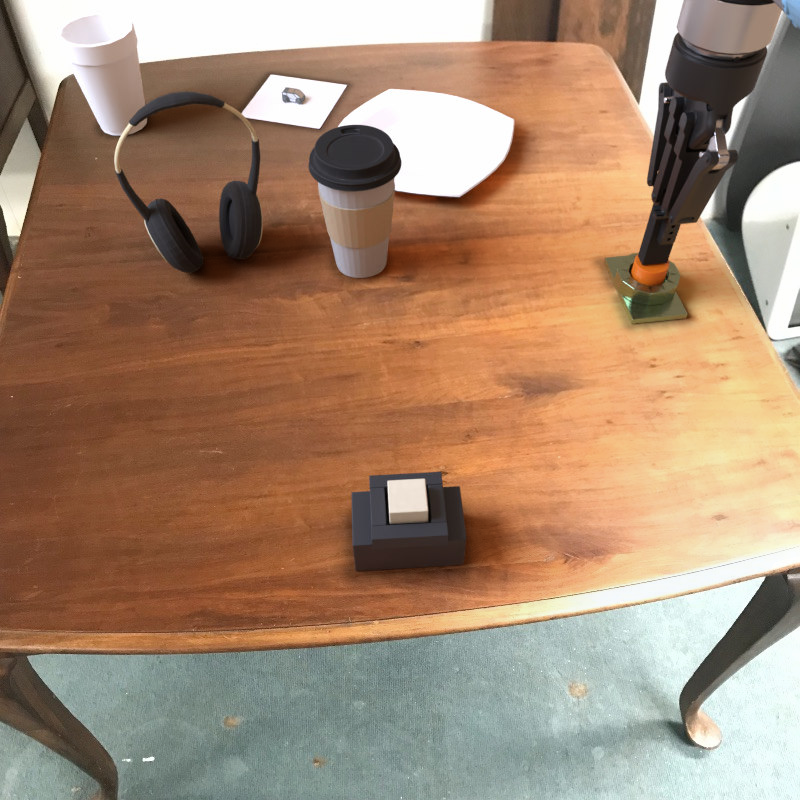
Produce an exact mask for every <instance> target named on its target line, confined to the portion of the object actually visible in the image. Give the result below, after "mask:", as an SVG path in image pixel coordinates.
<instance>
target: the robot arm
mask: <svg viewBox="0 0 800 800" xmlns="http://www.w3.org/2000/svg"><path fill="white" fill-rule="evenodd" d="M782 13H784V14H785V16H786V17H787V19H788V20H789V22H790V23H791V24H792V25H793V27H794V28H796V29H798V30H800V0H683V1H682V5H681V9H680V12H679V16H678V20H677V24H676V29H677V33H675V35H674V37H673V41H672V44H671V47H670V51H669V55H668V59H667V63H666V66H665V70H664V77H665V80H666V81H665V82H660V84H659V85H658V99H657V101H658V102H657V103H658V107H657V114H656V120H655V128H654V132H653V140H652V146H651V150H650V151H651V152H650V156H649V157H650V158H649V164H648V170H647V177H646V185H647V186H648V187H652V191H651V194H650V195H651V196H650V197H651V202H652V205H651V209H650V212H649V213H650V214H649V217H648V220H647V222H646V223H647V224H646V227H645V230H644V234H643V237H642V240H641V244H640V247H639V249H638V250H639V251H638V253H639V254H638V257H639V259H640V261H641V264H642V265H649V264H660V263H667V262H668V260H669V259H670V256H671V253H672V249H673V246H674V243H675V242H676V240H677V237H678V233H679V231H680V228H681V225H685V224H686V225H687V224H695V223H697V222H698V221H699V219H700V217H701V215H702V214H703V213H704V211H705V209H706V207H707V205H708V203H709V201H710V200H711V198H712V196H713V195H714V193H715V191H716V189H717V188H718V186H719V185H720V182H721V181H722V179H723V177H724V175H725V174H726V172H727V171H728V170H730V168H732V167H733V166H734V165H735V164H736V163H738V159H739V153H738V151H737V149H735V148H734V149H728V144H727V138H726V135H727V134H728V132H730V129H731V126H732V118H733V113H734V108H735V106H736V105H737V104H738V103H740V102H741V101H742V100H744V99H745V98H747V97H748V96H750V95H751V93H752V92H753V91H754V90H755V88H756V85H757V83H758V80H759V77H760V75H761V71H762V69H763V66H764V63H765V61H766V58H767V56H768V48H767V47H768V46H769V45H770V44H771V43H772V40H773V37H774V35H775V32H776V28H777V26H778V23H779V20H780V17H781V15H782Z"/></svg>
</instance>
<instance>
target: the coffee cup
mask: <svg viewBox="0 0 800 800" xmlns="http://www.w3.org/2000/svg"><path fill="white" fill-rule="evenodd" d="M401 165H402V161H401V157H400V152H399V150H398V148H397V147H396V145H395V144H394V143H393V141H392V139H391V138H390V136H389V135H388V134H386V133H385V132H384V131H382V130H380V129H378V128H375V127H371V126H367V125H345V126H340V127H338V126H337V127H334V128H331V129H329V130H327V131H326V132H324V133H322V134H321V135H320V136H319V137H318V138H317V139H316V141H315V144H314V147H313V148H312V149H311V151H310V153H309V158H308V171H309V174H310V175H311V177H312V178H313V179H314V180H315V181H317V184H318V185H317V191H318V196H319V201H320V204H321V209H322V213H323V218H324V222H325V227H326V231H327V233H328V236H329V240H330V243H331V247H332V251H333V256H334V260H335V264H336V267H337V269H338V270H339V272H340V273H341V274H343V275H344V276H346V277H349V278H353V279H365V278H370V277H374V276H376V275H378V274H380V273H381V272H383V270H384V269H385V268H386V266H387V262H388V261H387V260H388V252H389V251H388V250H389V241H390V235H391V232H392V225H393V224H392V223H393V215H394V205H395V204H394V203H395V193H396V191H395V183H394V179H395V177H396V175H397V174H398V173H399V171H400V169H401Z"/></svg>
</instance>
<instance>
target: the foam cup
mask: <svg viewBox="0 0 800 800" xmlns="http://www.w3.org/2000/svg"><path fill="white" fill-rule="evenodd" d="M55 39H56V41H57V43H58V46H59V50H60V52H61V54H62V56H63V57H64V59H65V60H66V62H67V64H68V65H69V67H70V69H71V71H72V73H73V75H74V77H75V80H76V81H77V84H78V85H79V87H80V89H81V91H82V94H83V95H84V97H85V99H86V101H87V103H88V106H89V107H90V109H91V111H92V114H93V115H94V117H95V119H96V121H97V123H98V125H99V126H100V129H101V130H102V131H103V133H105V134H108V135H110V136H120V137H121V135H122V133H123V131H124V130H125V129H126V127H127V126H128V124H129V121H130V119H131V118H132V117H133V116H134V115H135V114H136V112H137V111H138V110H139V109H141V108H142V107H143V106H145V105H146V101H145V93H144V86H143V80H142V71H141V67H140V66H141V65H140V59H139V53H138V37H137V34H136V30H135V25H134V23H133V21H132V20H131V19H130V18H129V17H128V16H126V15H124V14H120V13H117V12H107V11H106V12H105V11H104V12H103V11H102V12H101V11H100V12H99V11H97V12H92V13H86V14H81V15H78V16H76V17H73V18H71V19H68V20H66V21H65V22H64V23H63V24H61V25H60V26H59V27H58V28H57V30H56V35H55ZM147 123H148V118H146V119H144V120H143V121H141V122H140V123H139V124H138V125H137V126H134V127H133V128H132V129H131V131H130V132H129V134H128V135H132V134H135V133H137V132H139V131H140V130H142V129H143V128H144V127H146V125H147Z"/></svg>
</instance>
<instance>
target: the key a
mask: <svg viewBox="0 0 800 800" xmlns="http://www.w3.org/2000/svg"><path fill="white" fill-rule="evenodd" d="M387 483H388V503H389V521H390V524H402V523H420V522H428V502H427V492H426V481H425V479H408V480H390V481H388V482H387Z"/></svg>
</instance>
